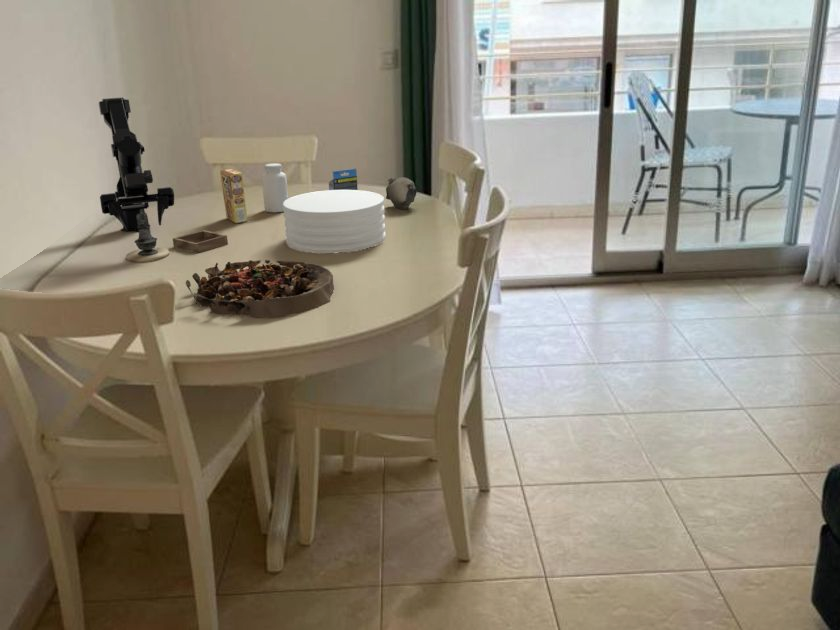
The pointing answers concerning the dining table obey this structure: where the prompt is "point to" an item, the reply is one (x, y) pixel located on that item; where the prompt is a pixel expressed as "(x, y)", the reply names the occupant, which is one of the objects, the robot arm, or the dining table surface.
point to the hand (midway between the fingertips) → (143, 226)
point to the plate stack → (334, 221)
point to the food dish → (264, 288)
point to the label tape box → (344, 180)
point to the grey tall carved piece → (145, 236)
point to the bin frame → (210, 237)
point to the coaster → (135, 257)
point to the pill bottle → (274, 188)
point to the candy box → (234, 195)
